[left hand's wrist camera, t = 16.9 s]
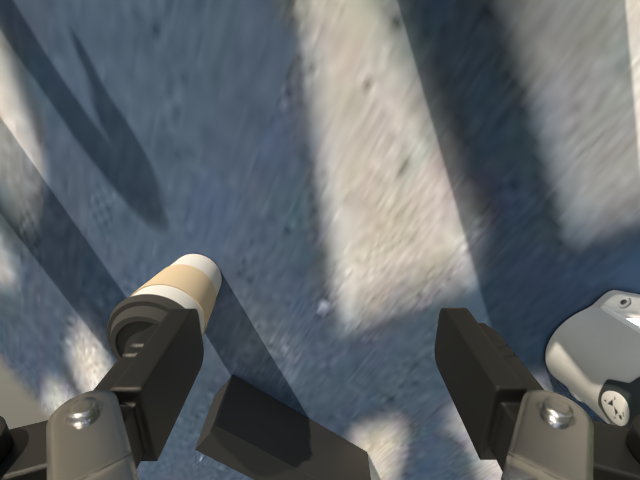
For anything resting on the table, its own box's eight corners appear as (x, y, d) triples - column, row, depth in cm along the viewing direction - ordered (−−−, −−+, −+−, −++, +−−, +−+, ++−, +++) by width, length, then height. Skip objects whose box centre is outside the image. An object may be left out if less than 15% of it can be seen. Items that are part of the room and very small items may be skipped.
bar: (214, 395, 54) (194, 449, 45) (232, 374, 52) (215, 425, 44) (347, 469, 59) (352, 529, 51) (367, 452, 58) (375, 510, 49)
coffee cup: (169, 307, 48) (107, 389, 34) (156, 247, 45) (81, 309, 31) (234, 305, 48) (198, 386, 34) (225, 245, 45) (182, 306, 31)
